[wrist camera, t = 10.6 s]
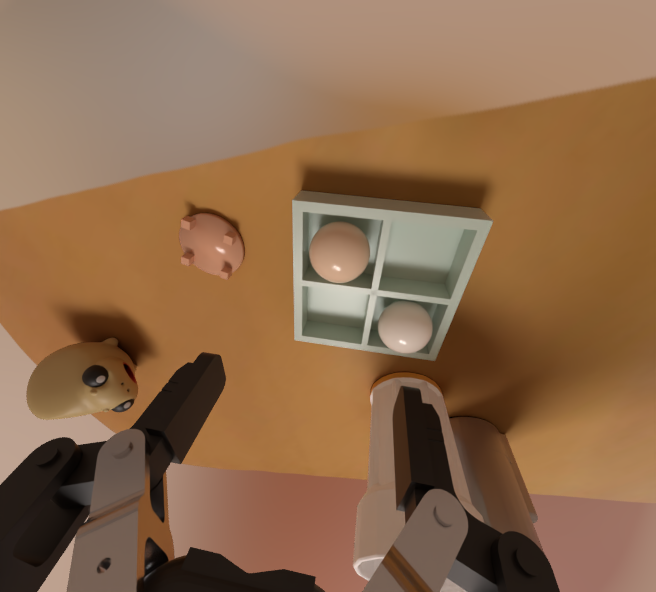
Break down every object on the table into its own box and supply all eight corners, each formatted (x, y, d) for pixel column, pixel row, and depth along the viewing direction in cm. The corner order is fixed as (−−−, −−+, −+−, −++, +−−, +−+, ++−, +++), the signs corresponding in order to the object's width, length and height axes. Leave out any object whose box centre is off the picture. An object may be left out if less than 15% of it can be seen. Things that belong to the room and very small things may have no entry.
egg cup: (249, 227, 26) (242, 233, 24) (240, 280, 29) (234, 288, 28) (182, 202, 25) (172, 207, 24) (182, 260, 29) (173, 267, 28)
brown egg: (375, 216, 23) (374, 239, 19) (366, 268, 26) (364, 298, 22) (316, 210, 23) (303, 231, 19) (314, 262, 26) (302, 290, 22)
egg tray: (480, 208, 22) (493, 220, 19) (430, 340, 30) (434, 361, 28) (301, 190, 23) (292, 200, 21) (301, 322, 31) (294, 340, 29)
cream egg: (438, 300, 27) (449, 335, 22) (412, 335, 29) (418, 371, 25) (390, 283, 26) (393, 315, 22) (369, 319, 29) (368, 354, 25)
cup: (413, 351, 31) (444, 551, 17) (469, 401, 35) (532, 602, 21) (344, 388, 37) (324, 561, 23) (398, 428, 40) (409, 600, 26)
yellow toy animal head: (173, 374, 41) (118, 445, 33) (108, 373, 44) (42, 439, 35) (138, 325, 36) (63, 393, 27) (67, 326, 38) (-23, 390, 30)
